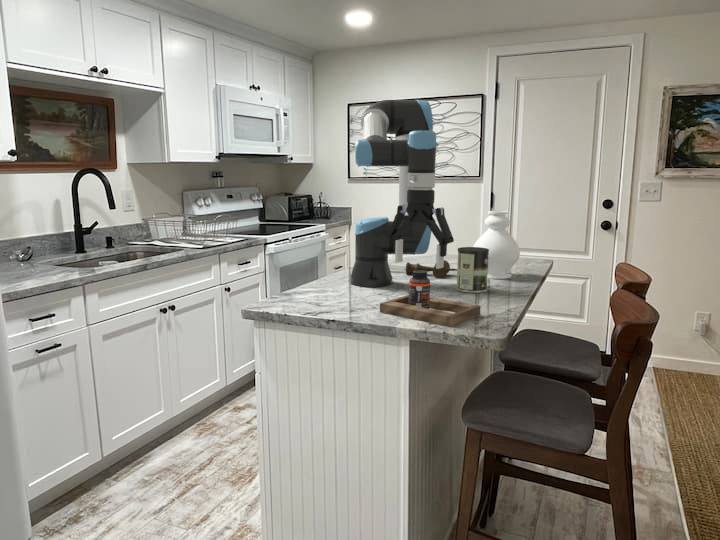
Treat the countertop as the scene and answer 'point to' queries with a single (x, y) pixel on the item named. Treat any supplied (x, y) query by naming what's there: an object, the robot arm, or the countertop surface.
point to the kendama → (430, 269)
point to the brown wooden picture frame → (432, 310)
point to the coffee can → (472, 269)
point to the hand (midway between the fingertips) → (418, 265)
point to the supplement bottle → (419, 289)
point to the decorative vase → (499, 245)
